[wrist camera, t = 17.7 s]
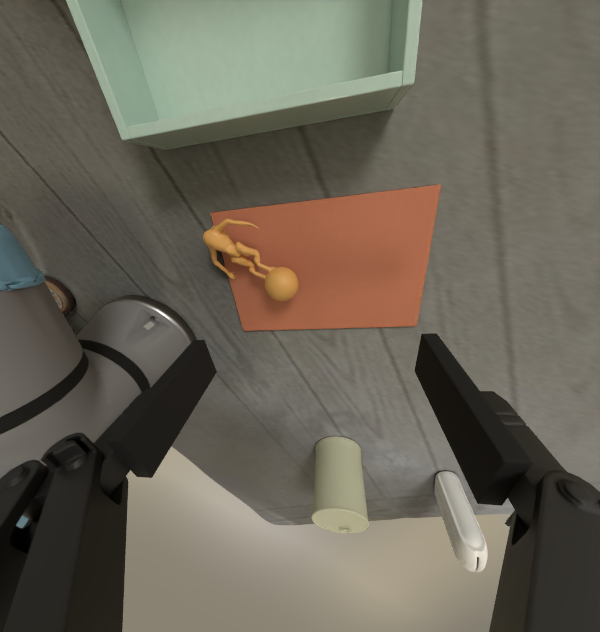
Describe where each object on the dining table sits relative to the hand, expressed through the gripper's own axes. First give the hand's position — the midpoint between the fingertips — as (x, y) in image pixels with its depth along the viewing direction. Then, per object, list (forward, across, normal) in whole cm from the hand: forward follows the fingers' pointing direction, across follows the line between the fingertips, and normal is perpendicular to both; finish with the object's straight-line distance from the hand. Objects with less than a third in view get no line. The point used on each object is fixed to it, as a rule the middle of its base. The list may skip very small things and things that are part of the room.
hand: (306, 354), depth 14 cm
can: (+16, +1, -38) cm, 41 cm away
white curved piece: (+16, +23, -48) cm, 56 cm away
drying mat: (+16, 0, 0) cm, 16 cm away
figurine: (+12, -3, -2) cm, 12 cm away
